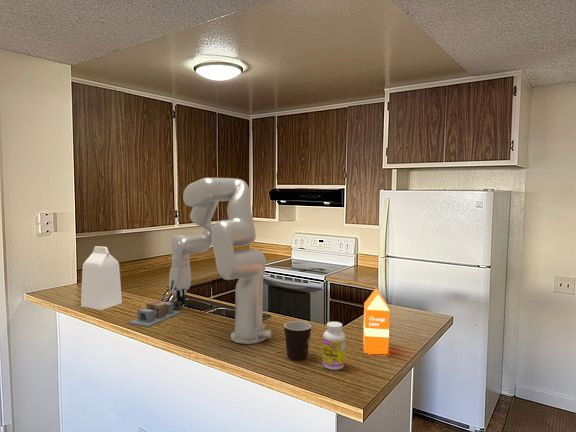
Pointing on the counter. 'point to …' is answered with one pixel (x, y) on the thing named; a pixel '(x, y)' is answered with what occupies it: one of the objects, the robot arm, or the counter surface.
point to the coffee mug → (297, 339)
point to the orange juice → (376, 324)
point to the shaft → (174, 304)
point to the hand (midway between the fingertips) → (180, 304)
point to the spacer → (159, 306)
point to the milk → (100, 280)
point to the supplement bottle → (333, 346)
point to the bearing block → (153, 316)
